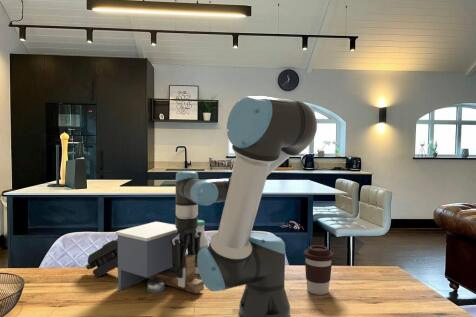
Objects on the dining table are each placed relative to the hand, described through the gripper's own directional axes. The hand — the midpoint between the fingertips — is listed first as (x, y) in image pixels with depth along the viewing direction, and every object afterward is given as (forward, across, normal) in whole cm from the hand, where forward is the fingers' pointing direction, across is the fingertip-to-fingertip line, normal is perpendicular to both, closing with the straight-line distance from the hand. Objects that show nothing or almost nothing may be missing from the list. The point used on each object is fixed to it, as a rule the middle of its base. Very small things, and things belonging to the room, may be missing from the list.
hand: (186, 284), depth 122 cm
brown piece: (+1, 0, -5) cm, 5 cm away
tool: (+2, +6, -32) cm, 33 cm away
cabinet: (+2, +4, -13) cm, 14 cm away
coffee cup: (+2, -25, +38) cm, 45 cm away
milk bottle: (+2, -16, -8) cm, 19 cm away
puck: (+2, +6, -9) cm, 11 cm away
